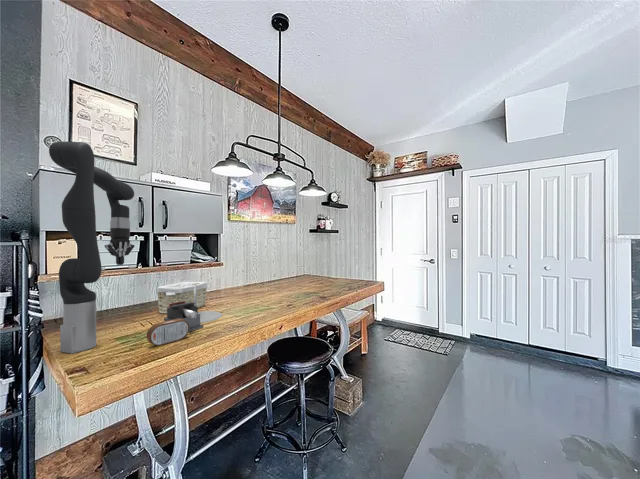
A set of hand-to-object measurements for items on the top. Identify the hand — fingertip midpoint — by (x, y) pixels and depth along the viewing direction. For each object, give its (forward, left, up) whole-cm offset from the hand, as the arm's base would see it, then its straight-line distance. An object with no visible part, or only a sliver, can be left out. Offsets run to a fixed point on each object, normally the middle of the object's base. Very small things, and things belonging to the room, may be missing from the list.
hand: (120, 264), depth 129 cm
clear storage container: (+34, -4, -29) cm, 45 cm away
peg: (+3, -34, -24) cm, 42 cm away
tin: (-10, -39, -29) cm, 50 cm away
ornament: (+25, -29, -29) cm, 48 cm away
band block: (+4, -32, -29) cm, 43 cm away
